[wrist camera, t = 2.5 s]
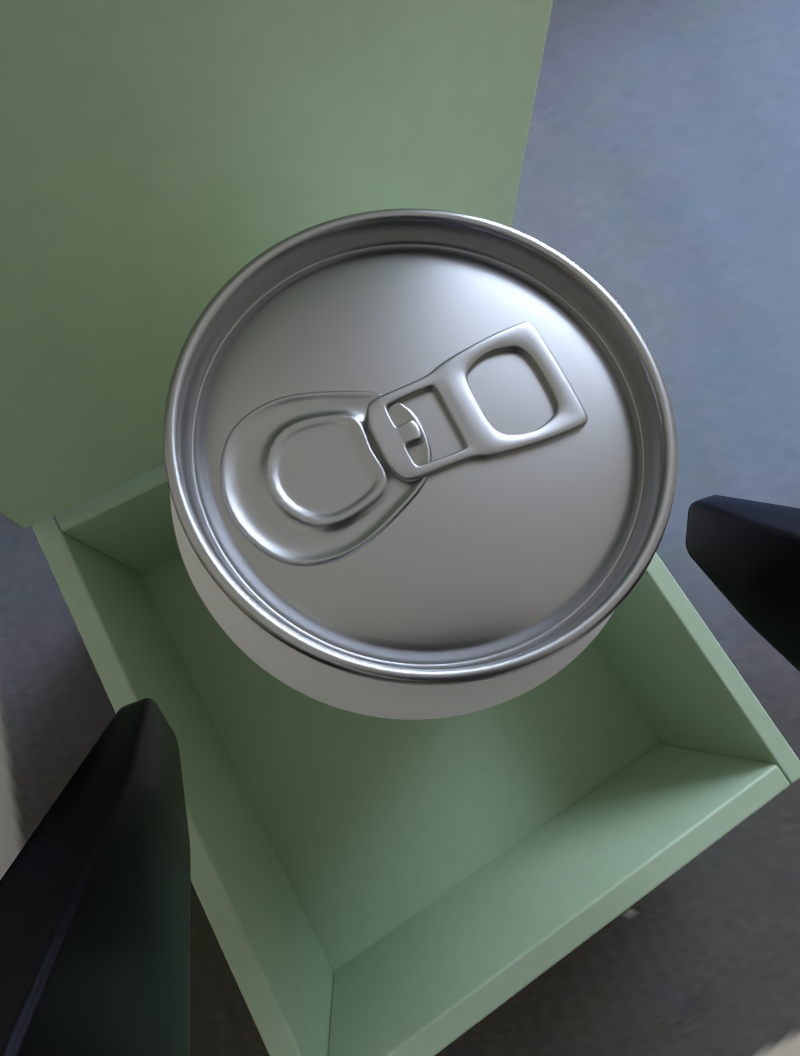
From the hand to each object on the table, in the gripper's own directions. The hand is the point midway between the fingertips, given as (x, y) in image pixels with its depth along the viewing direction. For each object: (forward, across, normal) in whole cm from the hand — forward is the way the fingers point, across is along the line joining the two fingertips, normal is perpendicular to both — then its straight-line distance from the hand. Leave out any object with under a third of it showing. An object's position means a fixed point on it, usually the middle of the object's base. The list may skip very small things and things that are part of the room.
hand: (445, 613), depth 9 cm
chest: (+6, 0, +7) cm, 9 cm away
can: (+8, 0, +5) cm, 9 cm away
